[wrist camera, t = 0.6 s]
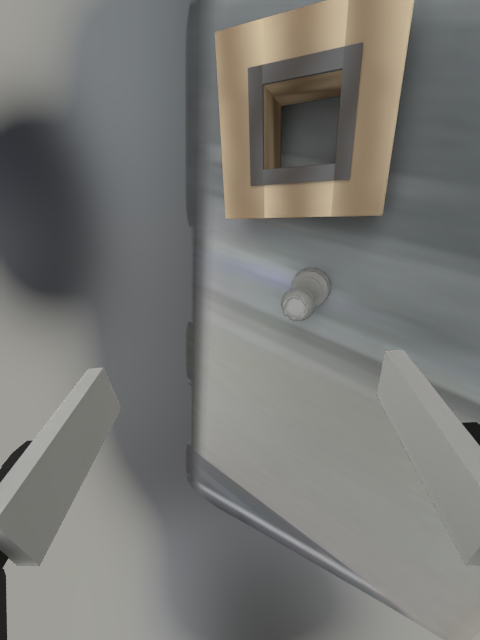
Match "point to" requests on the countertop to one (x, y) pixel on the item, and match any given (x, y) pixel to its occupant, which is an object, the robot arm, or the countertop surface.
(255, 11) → the countertop surface
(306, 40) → the socket block
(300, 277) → the rook chess piece
